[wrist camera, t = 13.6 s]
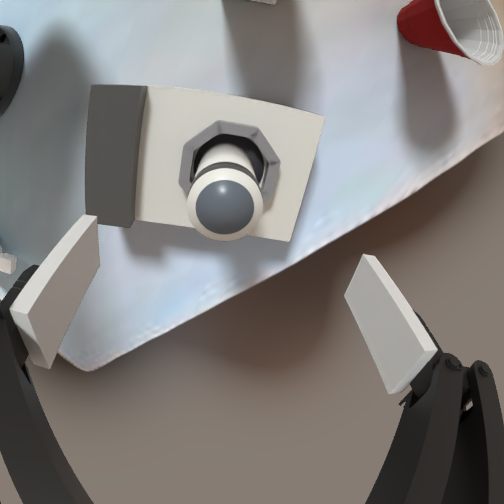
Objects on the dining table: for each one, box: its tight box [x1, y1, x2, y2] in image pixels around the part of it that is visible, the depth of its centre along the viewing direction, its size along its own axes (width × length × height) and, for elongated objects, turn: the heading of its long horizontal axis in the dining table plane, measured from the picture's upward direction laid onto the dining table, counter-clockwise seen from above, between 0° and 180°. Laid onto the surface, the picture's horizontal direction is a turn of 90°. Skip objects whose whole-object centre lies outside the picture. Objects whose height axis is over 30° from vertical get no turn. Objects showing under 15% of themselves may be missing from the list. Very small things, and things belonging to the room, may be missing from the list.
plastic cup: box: [397, 0, 504, 66], centre depth 19 cm, size 11×11×12 cm
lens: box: [187, 143, 263, 241], centre depth 23 cm, size 5×5×10 cm
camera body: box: [85, 84, 325, 242], centre depth 29 cm, size 22×14×8 cm, turn 78°
